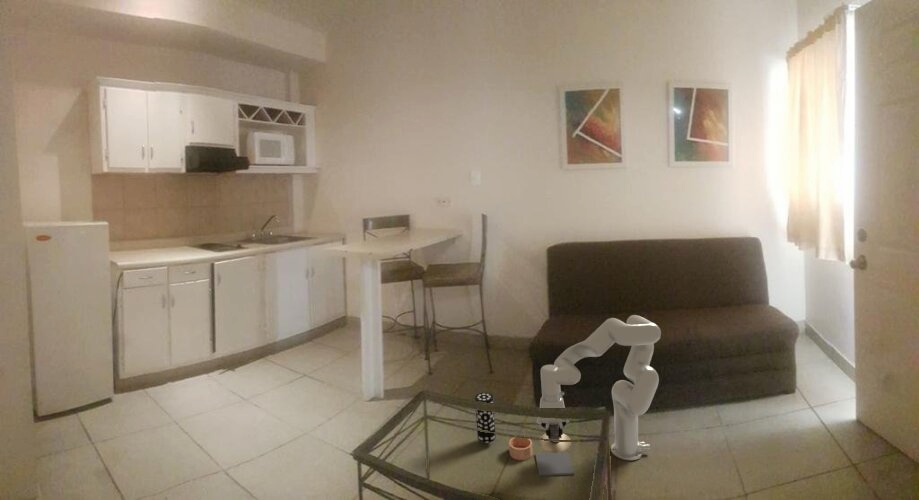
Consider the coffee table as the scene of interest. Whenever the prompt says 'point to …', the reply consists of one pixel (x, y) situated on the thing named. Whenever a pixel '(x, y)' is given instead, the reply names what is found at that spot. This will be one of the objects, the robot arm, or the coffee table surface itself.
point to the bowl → (520, 448)
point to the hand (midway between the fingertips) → (554, 436)
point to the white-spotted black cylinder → (485, 419)
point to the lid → (554, 446)
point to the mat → (554, 464)
